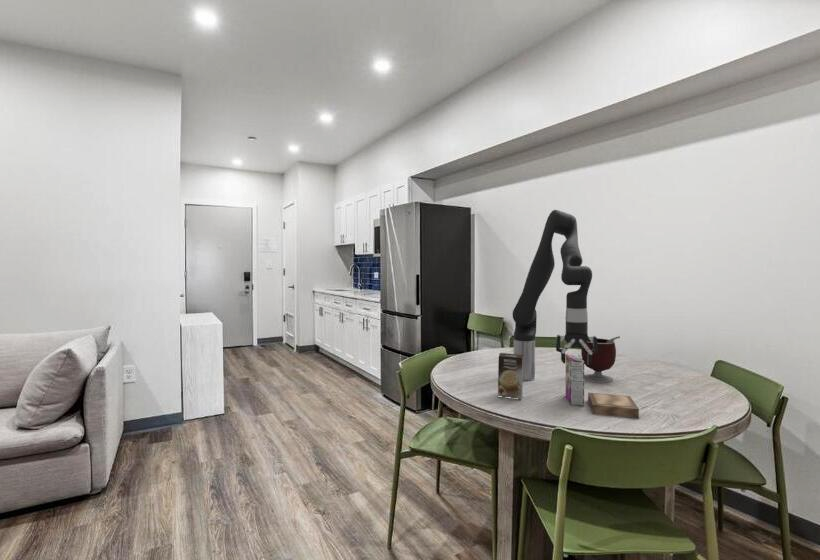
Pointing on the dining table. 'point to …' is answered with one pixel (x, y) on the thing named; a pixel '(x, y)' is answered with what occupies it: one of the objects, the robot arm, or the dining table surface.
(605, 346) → the mate gourd
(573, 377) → the candy bar box
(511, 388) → the coffee box
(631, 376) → the dining table surface
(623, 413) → the walnut board
